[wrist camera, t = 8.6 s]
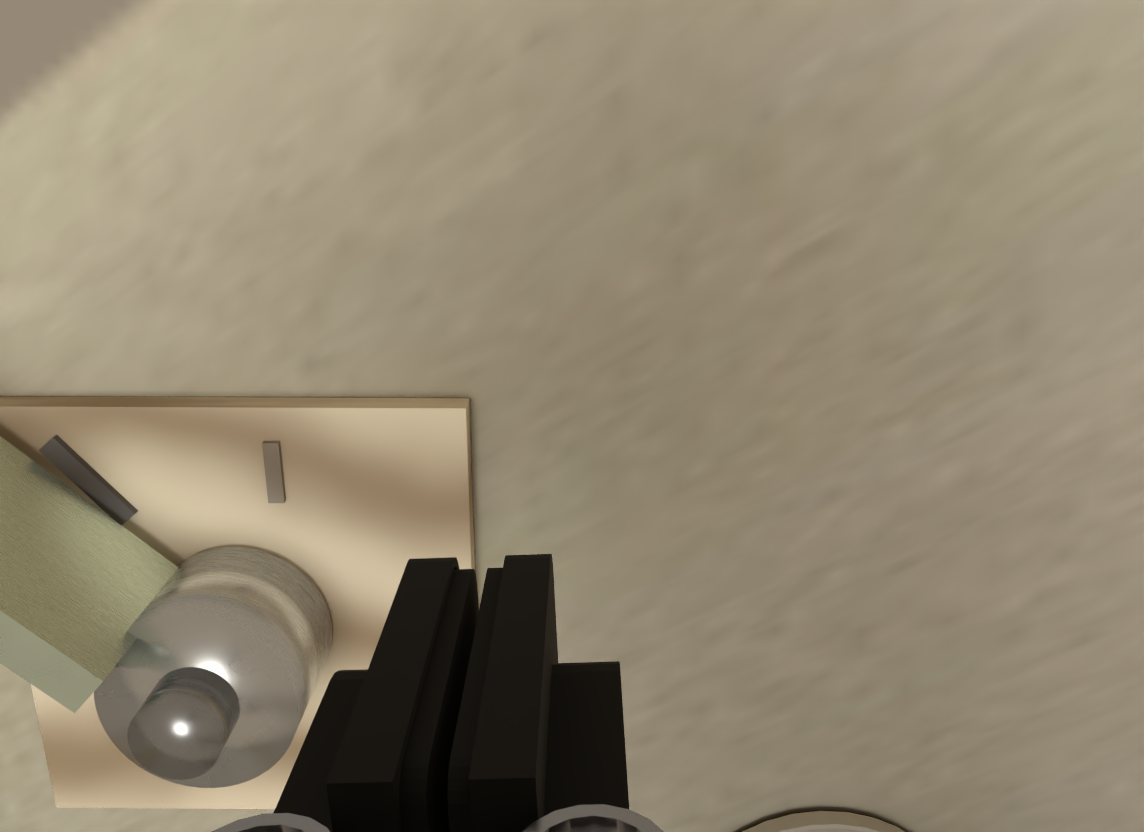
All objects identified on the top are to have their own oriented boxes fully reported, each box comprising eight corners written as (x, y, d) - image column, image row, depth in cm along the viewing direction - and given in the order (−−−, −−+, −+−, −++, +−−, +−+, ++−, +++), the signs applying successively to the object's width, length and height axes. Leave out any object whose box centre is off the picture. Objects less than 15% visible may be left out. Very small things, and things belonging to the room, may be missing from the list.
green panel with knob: (368, 623, 39) (321, 746, 31) (261, 733, 40) (193, 874, 33) (-20, 327, 35) (-173, 392, 28) (-120, 463, 36) (-288, 557, 29)
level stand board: (482, 790, 43) (478, 815, 42) (70, 788, 43) (52, 812, 42) (469, 398, 37) (464, 411, 36) (-9, 396, 37) (-32, 409, 36)
